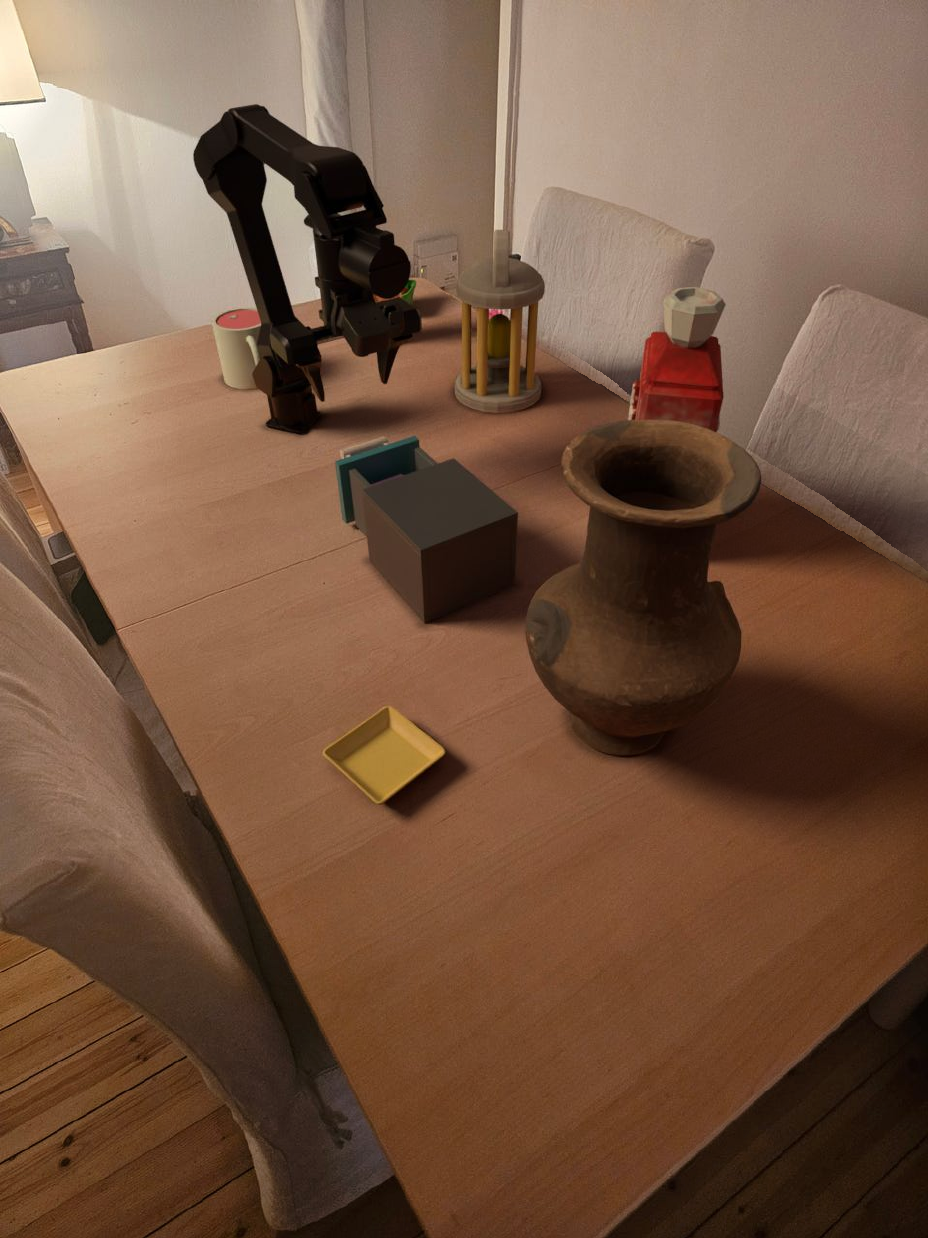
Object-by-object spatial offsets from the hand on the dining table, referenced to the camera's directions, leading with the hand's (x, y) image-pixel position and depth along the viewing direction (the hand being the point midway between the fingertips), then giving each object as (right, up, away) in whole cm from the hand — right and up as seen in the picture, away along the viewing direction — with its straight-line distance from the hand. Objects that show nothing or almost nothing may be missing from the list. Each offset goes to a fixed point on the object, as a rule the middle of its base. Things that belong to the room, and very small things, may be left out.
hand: (353, 391), depth 109 cm
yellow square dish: (+7, -45, -30) cm, 54 cm away
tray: (+6, -18, -2) cm, 19 cm away
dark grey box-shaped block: (+12, -25, -9) cm, 29 cm away
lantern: (+20, +7, +26) cm, 33 cm away
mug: (-20, +9, +29) cm, 36 cm away
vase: (+30, -41, -26) cm, 57 cm away
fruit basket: (0, +30, +50) cm, 58 cm away
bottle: (+39, -18, -2) cm, 43 cm away
